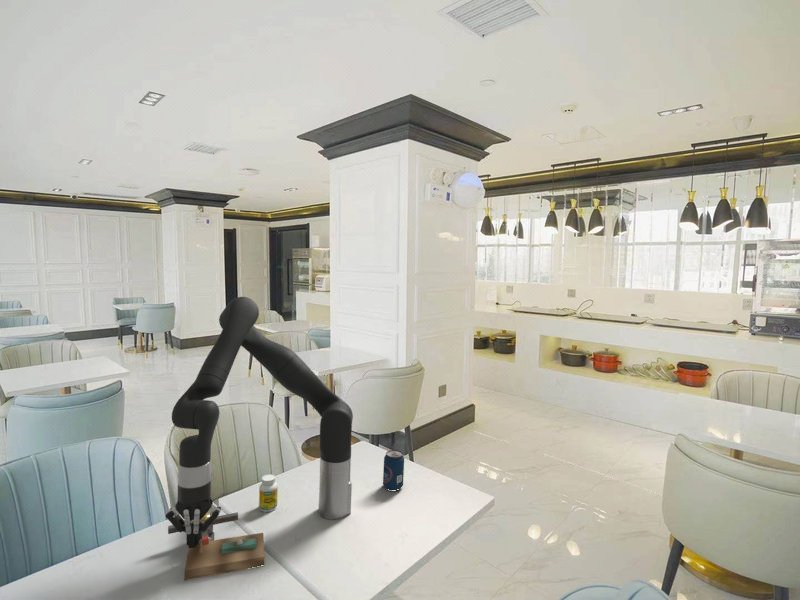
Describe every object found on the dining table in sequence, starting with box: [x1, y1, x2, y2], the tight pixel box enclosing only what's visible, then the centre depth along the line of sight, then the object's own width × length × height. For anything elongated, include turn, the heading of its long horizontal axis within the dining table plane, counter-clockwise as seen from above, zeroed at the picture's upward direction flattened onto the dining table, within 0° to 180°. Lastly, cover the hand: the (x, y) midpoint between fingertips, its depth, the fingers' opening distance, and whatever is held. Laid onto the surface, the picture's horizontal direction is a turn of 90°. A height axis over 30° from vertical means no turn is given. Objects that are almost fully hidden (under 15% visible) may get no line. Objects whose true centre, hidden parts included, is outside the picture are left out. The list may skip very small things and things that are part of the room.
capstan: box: [167, 510, 239, 546], centre depth 117 cm, size 17×17×7 cm
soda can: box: [382, 449, 405, 490], centre depth 149 cm, size 7×7×12 cm
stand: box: [183, 532, 266, 581], centre depth 110 cm, size 18×10×5 cm, turn 109°
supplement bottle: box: [258, 474, 279, 513], centre depth 134 cm, size 5×5×10 cm
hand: (193, 545), depth 109 cm, fingers closed
